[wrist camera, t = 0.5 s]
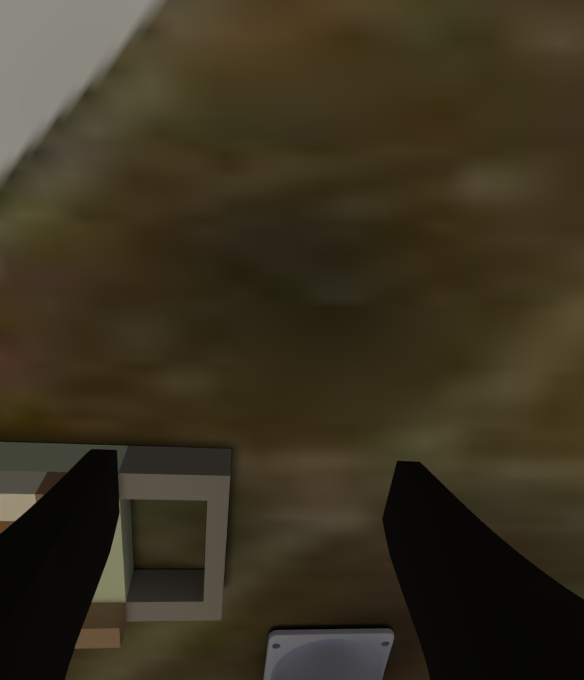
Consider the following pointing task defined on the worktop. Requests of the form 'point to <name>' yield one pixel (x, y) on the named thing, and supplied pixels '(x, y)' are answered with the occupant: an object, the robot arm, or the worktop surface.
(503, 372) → the worktop surface
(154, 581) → the board
